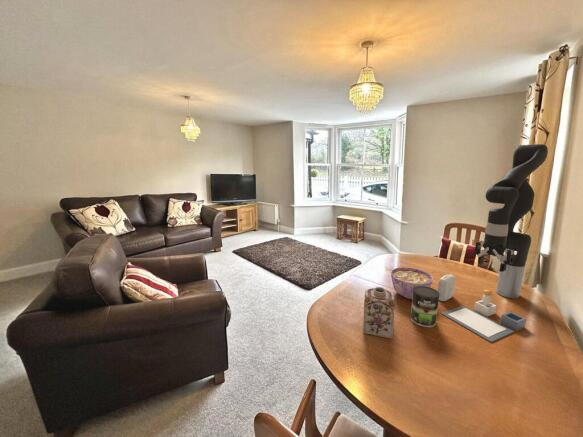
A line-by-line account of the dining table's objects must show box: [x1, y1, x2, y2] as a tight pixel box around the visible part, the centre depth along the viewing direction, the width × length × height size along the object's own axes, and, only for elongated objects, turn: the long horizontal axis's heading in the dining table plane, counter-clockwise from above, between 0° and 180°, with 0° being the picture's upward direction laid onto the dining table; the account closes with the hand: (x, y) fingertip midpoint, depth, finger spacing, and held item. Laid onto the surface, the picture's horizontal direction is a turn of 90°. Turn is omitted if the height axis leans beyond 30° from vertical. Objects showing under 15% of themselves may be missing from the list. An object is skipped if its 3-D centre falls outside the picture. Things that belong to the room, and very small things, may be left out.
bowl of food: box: [390, 266, 434, 300], centre depth 132 cm, size 20×20×12 cm
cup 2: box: [499, 311, 527, 332], centre depth 107 cm, size 6×6×4 cm
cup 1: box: [473, 299, 497, 318], centre depth 117 cm, size 6×6×4 cm
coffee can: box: [410, 286, 440, 328], centre depth 111 cm, size 10×10×14 cm
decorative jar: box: [362, 286, 396, 339], centre depth 106 cm, size 12×12×18 cm
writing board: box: [441, 305, 515, 343], centre depth 110 cm, size 15×21×1 cm
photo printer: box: [437, 273, 456, 302], centre depth 129 cm, size 10×4×12 cm, turn 123°
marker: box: [481, 289, 493, 307], centre depth 117 cm, size 3×3×10 cm
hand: (490, 267), depth 113 cm, fingers open, 8 cm apart
